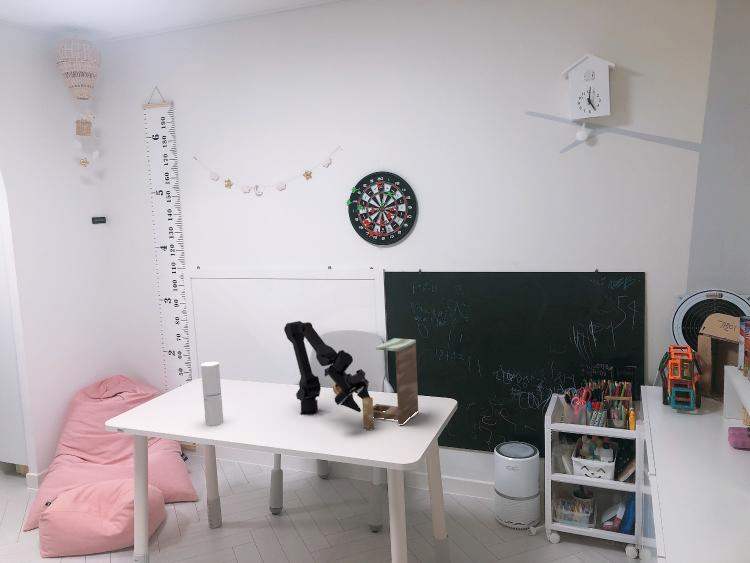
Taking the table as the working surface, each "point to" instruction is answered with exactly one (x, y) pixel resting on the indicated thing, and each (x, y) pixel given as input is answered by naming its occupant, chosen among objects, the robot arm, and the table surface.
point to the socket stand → (401, 381)
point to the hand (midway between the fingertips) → (366, 407)
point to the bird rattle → (336, 389)
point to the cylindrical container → (212, 393)
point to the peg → (368, 413)
